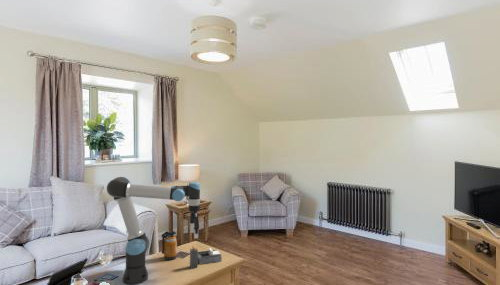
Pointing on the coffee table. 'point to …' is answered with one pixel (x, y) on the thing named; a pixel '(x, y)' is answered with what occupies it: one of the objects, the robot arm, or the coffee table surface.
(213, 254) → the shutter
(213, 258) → the socket
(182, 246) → the coffee table surface
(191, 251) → the plug
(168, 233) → the canister
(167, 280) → the coffee table surface
